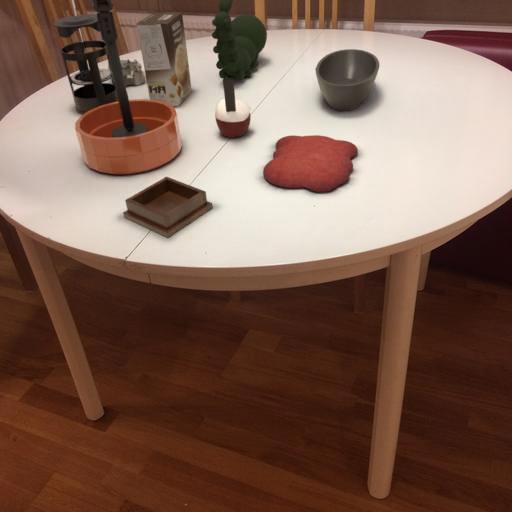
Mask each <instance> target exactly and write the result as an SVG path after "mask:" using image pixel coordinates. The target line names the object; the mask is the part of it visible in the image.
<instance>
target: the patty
mask: <svg viewBox="0 0 512 512" xmlns="http://www.w3.org/2000/svg"><path fill="white" fill-rule="evenodd" d="M275 149H276V150H275V151H274V152H272V153H273V154H272V159H271V160H269V161H268V162H267V163H266V164H265V165H264V166H263V170H262V175H263V177H264V179H265V180H266V181H268V182H269V183H270V184H272V185H274V186H277V187H281V188H287V189H296V188H297V189H298V188H299V189H300V188H305V189H308V190H310V191H313V192H318V193H322V192H323V193H325V192H331V191H333V190H334V189H335V188H337V187H338V186H341V185H343V184H346V182H348V180H349V179H350V173H351V172H352V171H353V170H354V163H353V162H352V160H351V159H352V158H354V157H356V156H357V154H358V147H357V145H356V144H354V143H353V142H351V141H348V140H344V139H343V140H342V139H334V138H333V137H329V136H327V135H326V136H325V135H320V134H319V135H318V134H317V135H314V134H313V135H304V136H302V135H286V136H282V137H281V138H279V139H278V140H277V141H276V143H275Z"/></svg>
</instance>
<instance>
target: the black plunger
mask: <svg viewBox="0 0 512 512" xmlns="http://www.w3.org/2000/svg"><path fill="white" fill-rule="evenodd" d="M104 42H105V41H104ZM105 43H106V48H107V52H108V57H109V61H110V66H111V70H112V74H113V79H114V83H115V88H116V92H117V97H118V101H119V106H120V110H121V115H122V119H123V124H124V125H121V126H119V127H117V128H115V129H114V130H113V131H112V136H113V138H114V137H127V136H133V135H138V134H142V133H145V132H148V131H149V129H148V127H147V126H146V125H145V124H141V123H133V118H132V113H131V109H130V104H129V100H130V99H129V95H128V91H127V86H126V85H125V80H124V76H123V71H122V66H121V61H120V60H121V57H120V52H119V47H118V45H117V39H116V40H114V41H107V42H105Z"/></svg>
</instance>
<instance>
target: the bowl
mask: <svg viewBox="0 0 512 512" xmlns="http://www.w3.org/2000/svg"><path fill="white" fill-rule="evenodd" d="M379 70H380V61H379V59H378V57H377V56H376V55H375V54H373V53H372V52H369V51H368V50H367V51H366V50H363V49H356V48H351V49H349V48H347V49H346V48H345V49H339V50H336V51H332V52H330V53H328V54H326V55H325V56H323V57H322V58H321V59H320V60H319V61H318V62H317V64H316V67H315V75H316V80H317V84H318V87H319V90H320V92H321V94H322V96H323V98H324V100H325V101H326V103H327V104H328V105H329V107H330V108H332V109H334V110H336V111H343V112H344V111H351V110H353V109H356V108H357V107H359V106H360V105H361V104H362V103H363V101H364V100H365V99H366V98H367V97H368V95H369V93H370V92H371V90H372V87H373V85H374V83H375V82H376V79H377V76H378V73H379Z"/></svg>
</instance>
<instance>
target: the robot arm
mask: <svg viewBox="0 0 512 512" xmlns="http://www.w3.org/2000/svg"><path fill="white" fill-rule="evenodd" d="M92 9H93V12H94V13H95V15H97V19H98V23H99V28H100V32H99V33H100V36H101V41H104V42H107V41H114V40H116V41H117V40H118V32H117V29H116V24H115V19H114V14H113V13H114V3H112V0H92Z"/></svg>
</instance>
